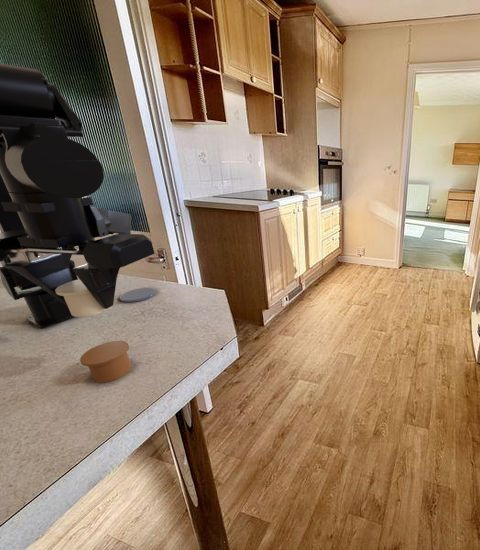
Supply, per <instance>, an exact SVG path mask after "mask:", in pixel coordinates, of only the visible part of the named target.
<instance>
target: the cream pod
mask: <svg viewBox="0 0 480 550" xmlns="http://www.w3.org/2000/svg"><path fill="white" fill-rule="evenodd" d="M55 292H56V294H57V295H60V296H64V299H65V301H66V303H67V305H68V308H69V310H70V312H71V315H72V316H75V317H76V318H86V317H90V316H95V315H99V314H101V313H104V312H106V311H108V310H110V309H111V308H112V307H110V308H108V309H104V308H103V307H102V306H101V305H100V304H99V303H98V302H97V301H96V299H95V298H94V297H93V296H92V294H91V293H90V292H89V290H88V289H87V288H86V287H85V285H84V284H83V283H82V281H81V280H80V279H79V278H78V280H74V281H71V282H68V283H65V284H63V285H61V286H59V287H57V288H56V290H55ZM75 317H74V318H75Z"/></svg>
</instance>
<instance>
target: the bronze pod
mask: <svg viewBox="0 0 480 550" xmlns="http://www.w3.org/2000/svg"><path fill="white" fill-rule="evenodd" d="M129 350H130V344H129V343H128V342H127V341H124V340H113V341H107V342H104V343H101V344H98V345H96V346H95V345H94V346H93V347H91V348H90V349H88V350H86V351H85V352H84V353H83V354H82V355H81V356H80V358H79V362H80V364H81V365H83V366H84V367H88V369H89V372H90V374H91V376H92V379H93V381H94V382H96V383H99V384H100V383H102V384H105V383H109V382H113V381H115V380H118V379H120V378H123V377H124V376H125V375H127V374H128V373H129V372H130V371H131V369H132V367H133V365H132V363H131V360H130V356H129V355H128V351H129Z"/></svg>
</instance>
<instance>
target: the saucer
mask: <svg viewBox="0 0 480 550" xmlns="http://www.w3.org/2000/svg"><path fill="white" fill-rule="evenodd" d="M154 295H156V290H155V289H154V288H152V287H142V288H141V287H140V288H135V289H132V290H129V291H126V292H124V293H123V294H121V295H120V296H119V300H120V301H121V302H123V303H138V302H141V301H144V300H148V299H150V298H152V297H154Z"/></svg>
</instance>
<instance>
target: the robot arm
mask: <svg viewBox="0 0 480 550" xmlns="http://www.w3.org/2000/svg"><path fill="white" fill-rule="evenodd" d="M71 138H84V132H83V122H82V121H81V120H80V118H79V116H78V115H77V114H76V112H75V111H74V109H73V108H72V107H71V105H70V104H69V102H68V101H67V100H66V98H65V97H64V96H63V95H62V94H61V93H60V91H59V89H58V88H57V86H56V85H55V84H54V83H51V82H49V80H48V78H47V77H46V76H45V74H44V73H42V72H41V71H40V70H39V69H34V68H30V67H29V68H28V67H23V66H17V65H11V64H6V63H0V264H1V266H0V280H1V282H2V285H3V287H4V289H5V290H6V292H7V294H8V295H9V296H10V297H11V299H13V300H14V301H17V300H20V299H24V301H25V303H26V305H27V307H28V309H29V311H30V313H31V316H28V317H26V318H25V320H26V321H27V322H29V323H31V324H33V325H34V326H36V327H39V329H45V328H48V327H52V326H54V325H57V324H59V323H63V322H65V321H67V320H71V319H73V318H75V316H72V315H71V312H70V310H69V308H68V305H67V303H66V301H65V299H64V296H60V295H57V294H56V292H55V290H56V288H57V287H59V286H61V285H63V284H65V283H68V282H71V281H74V280H78V279H80V280H81V281H82V283H83V284H84V285H85V287H86V288H87V289H88V290H89V292H90V293H91V294H92V296H93V297H94V298H95V299H96V301H97V302H98V303H99V304H100V305H101V306H102V307H103V308H104V309H108V308H110V307H111V308H113V307H114V301H115V297H116V296H115V295H116V294H115V293H116V287H117V280H118V275H119V272H120V269H121V268H124V267H126V266H129V265H131V264H134V263H137V262H139V261H141V260H144V259H146V258H148V257H150V256H152V255H155V254H156V253H155V249H154V246H153V242H152V240H151V238H149V237H148V236H146V235H145V234H143V233H132V214H131V213H126V212H121V211H117V210H110V209H102V208H98V207H97V205H96V202H95V200H94V199H92V197H91V195H92V194H94V193H96V192H97V191H98V190H99V189H100V188H101V186H102V184H103V182H104V177H105V174H104V173H105V172H104V168H103V165H102V162H101V161H100V160H99V159H98V158H97V156H96V155H95V154H94V152H93V151H91V150H90V149H89V148H88V147H86V146H85V145H83V144H82V143H80V142H78V141H76V140H73V139H71ZM96 238H98V239H96ZM72 256H83V257H84V260H85V262H86V263H85V264H81V265H80V266H76V264H75V261H74V260H72V259H71V258H72ZM111 308H110V309H111ZM108 310H109V309H108Z"/></svg>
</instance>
